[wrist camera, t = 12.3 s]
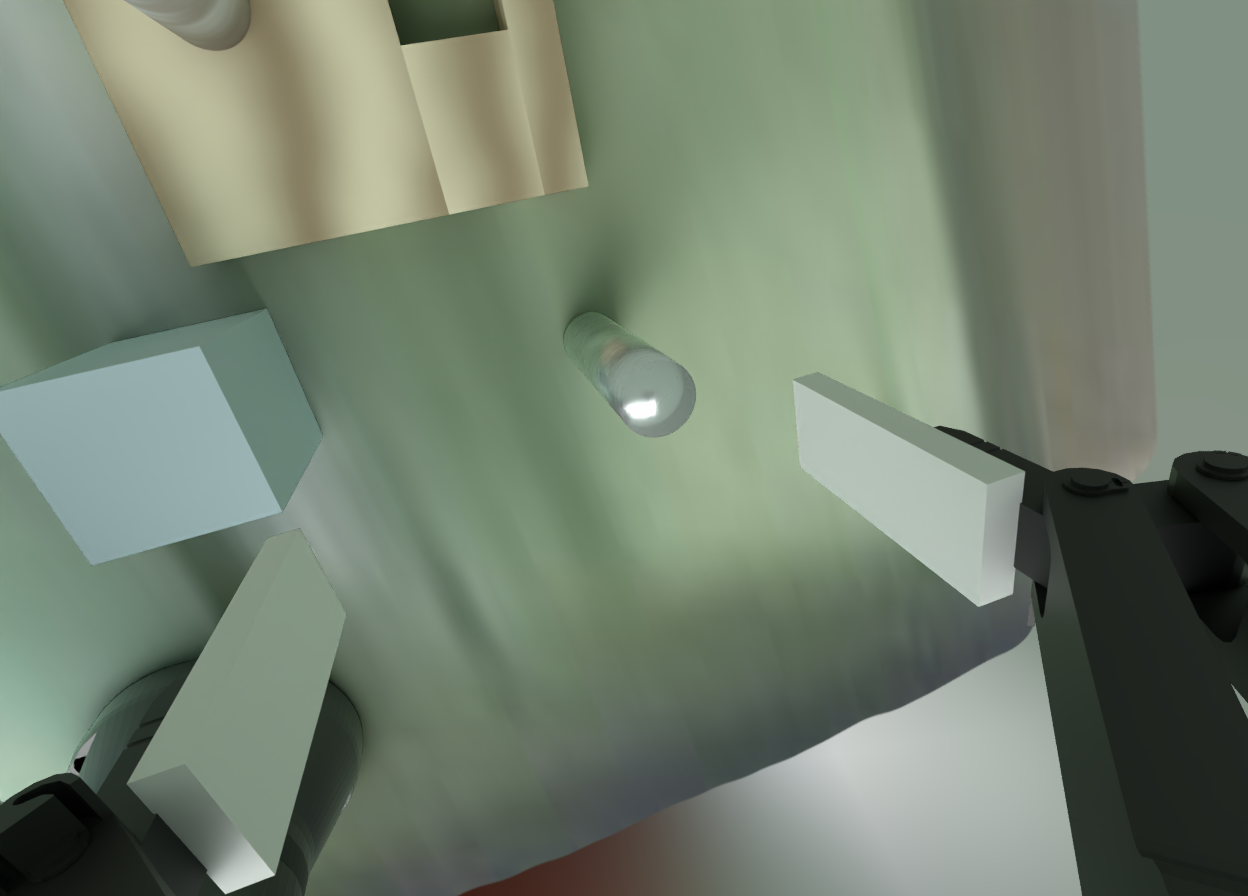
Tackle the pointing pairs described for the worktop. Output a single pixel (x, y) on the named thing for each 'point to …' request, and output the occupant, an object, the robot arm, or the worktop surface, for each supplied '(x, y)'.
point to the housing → (164, 434)
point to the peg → (631, 375)
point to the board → (329, 115)
